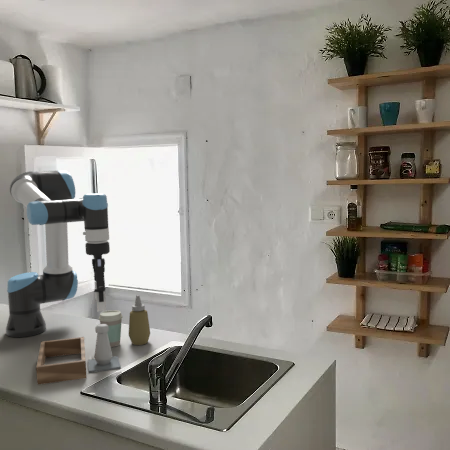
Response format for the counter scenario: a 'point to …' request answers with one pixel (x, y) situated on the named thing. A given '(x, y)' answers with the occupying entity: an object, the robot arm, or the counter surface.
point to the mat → (95, 367)
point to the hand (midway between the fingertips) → (100, 305)
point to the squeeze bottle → (139, 323)
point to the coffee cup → (112, 325)
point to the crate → (61, 370)
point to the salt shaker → (102, 345)
